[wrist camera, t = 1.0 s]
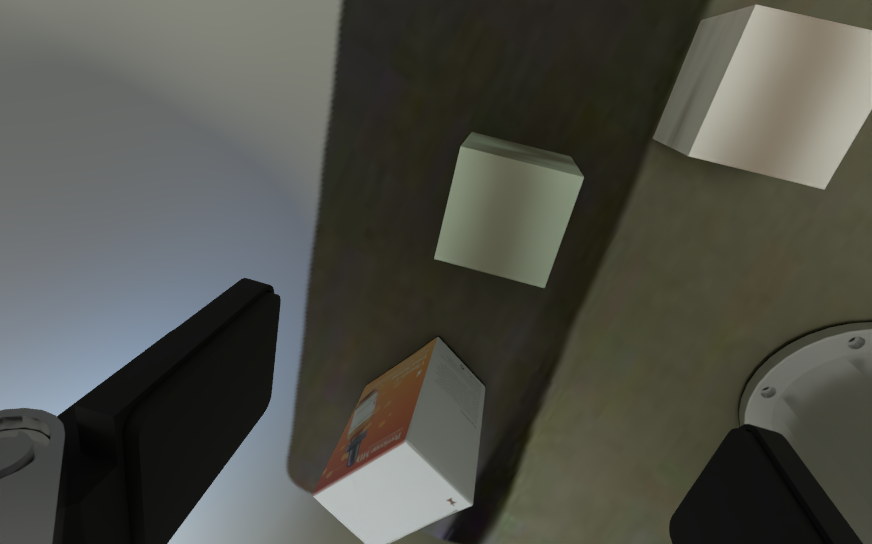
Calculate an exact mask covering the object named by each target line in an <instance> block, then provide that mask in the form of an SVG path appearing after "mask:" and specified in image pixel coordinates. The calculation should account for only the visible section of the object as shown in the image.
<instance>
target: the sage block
mask: <svg viewBox="0 0 872 544" xmlns="http://www.w3.org/2000/svg"><path fill="white" fill-rule="evenodd" d="M583 179H584V176H583V175H582V173H581V172H580V170H579V168H578V167H577V165H576V164H575V162H574V161H573V159H572V158H571V157H570V156H566V155H562V154H558V153H554V152H550V151H546V150H542V149H538V148H534V147H530V146H526V145H522V144H518V143H514V142H510V141H506V140H502V139H498V138H494V137H490V136H486V135H482V134H478V133H474V132H471V134H470V135H469V136H468V137H467V139H466V140H465V141H464V142H463V144H462V145H461V147H460V151H459V155H458V159H457V164H456V168H455V172H454V176H453V181H452V185H451V189H450V193H449V198H448V202H447V206H446V211H445V215H444V219H443V223H442V228H441V232H440V236H439V240H438V245H437V249H436V253H435V257H434V259H437V260H440V261H444V262H448V263H452V264H455V265H459V266H463V267H467V268H470V269H474V270H478V271H482V272H485V273H489V274H493V275H497V276H500V277H504V278H508V279H512V280H515V281H519V282H523V283H527V284H530V285H534V286H538V287H542V288H545V286H546V283H547V280H548V277H549V274H550V272H551V269H552V266H553V263H554V260H555V258H556V255H557V252H558V249H559V246H560V244H561V241H562V238H563V235H564V232H565V230H566V227H567V224H568V221H569V218H570V216H571V213H572V210H573V207H574V204H575V202H576V199H577V196H578V193H579V190H580V188H581V185H582V182H583Z"/></svg>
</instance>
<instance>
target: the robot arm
mask: <svg viewBox="0 0 872 544" xmlns="http://www.w3.org/2000/svg"><path fill="white" fill-rule="evenodd" d="M279 312H280V296H279V295H277V294H274V289H273V287H272V286H271V285H268V284H264V283H261V282H258V281H254V280H251V279H247V278H243V279H241V280H240V281H238V282H237V283H236V284H234V285H233V286H232V287H230V288H229V289H228V290H226V291H225V292H224V293H222V294H221V295H220V296H219V297H217V298H216V299H214V300H213V301H212V302H210V303H209V304H208V305H207V306H205V307H204V308H202V309H201V310H200V311H198V312H197V313H196V314H195V315H193V316H192V317H190V318H189V319H188V320H187V321H185V322H184V323H183V324H181V325H180V326H179V327H177V328H176V329H174V330H172V331H171V332H169V333H168V334H167V335H165V336H164V337H163V338H161V339H160V340H159V341H157V342H156V343H155V344H153V345H152V346H151V347H149V348H148V349H147V350H145V351H144V352H143V353H142V354H140V355H139V356H137V357H136V358H135V359H133V360H132V361H131V362H129V363H128V364H127V365H125V366H124V367H123V368H121V369H120V370H119V371H117V372H116V373H115V374H113V375H112V376H111V377H109V378H108V379H107V380H105V381H104V382H102V383H101V384H100V385H98V386H97V387H96V388H94V389H93V390H92V391H90V392H89V393H88V394H86V395H85V396H84V397H82V398H81V399H80V400H78V401H77V402H76V403H74V404H73V405H72V406H71V407H69V408H68V409H66V410H65V411H64V412H62V413H61V414H60V415H58V416H57V417H56V416H55V415H53V414H51V413H48V412H46V411H43V410H37V409H29V408H20V409H6V410H1V411H0V544H167V543H168V542H169V540H170V539H171V538H172V536H173V535H174V534H175V532H176V531H177V529H178V528H179V527H180V526H181V524H182V523H183V521H184V520H185V519H186V517H187V516H188V515H189V513H190V512H191V511H192V509H193V508H194V507H195V505H196V504H197V503H198V501H199V500H200V499H201V497H202V496H203V494H204V493H205V492H206V490H207V489H208V488H209V486H210V485H211V484H212V482H213V481H214V480H215V478H216V477H217V476H218V474H219V473H220V472H221V470H222V469H223V468H224V466H225V465H226V463H227V462H228V461H229V459H230V458H231V457H232V455H233V454H234V453H235V451H236V450H237V449H238V447H239V446H240V445H241V443H242V442H243V441H244V439H245V438H246V437H247V435H248V434H249V432H250V431H251V430H252V428H253V427H254V426H255V424H256V423H257V422H258V420H259V419H260V418H261V416H262V415H263V414H264V412H265V411H266V409H267V407H268V404H269V402H270V398H271V393H272V383H273V372H274V362H275V352H276V342H277V332H278V322H279ZM739 420H740V427H739V429H738V428H734V429H732V430H731V431H730V432H729V433H728V434H727V436H726V437H725V439H724V440H723V442H722V443H721V445H720V446H719V448H718V449H717V450H716V452H715V453H714V455H713V456H712V458H711V459H710V461H709V462H708V464H707V465H706V467H705V468H704V470H703V471H702V473H701V474H700V476H699V477H698V479H697V480H696V482H695V483H694V485H693V486H692V487H691V489H690V490H689V492H688V493H687V495H686V496H685V498H684V499H683V501H682V502H681V504H680V505H679V507H678V508H677V510H676V511H675V513H674V514H673V516H672V518H671V520H670V526H669V531H670V537H671V540H672V543H673V544H872V322H865V323H851V324H846V325H841V326H835V327H830V328H827V329H824V330H821V331H818V332H815V333H812V334H809V335H807V336H805V337H803V338H801V339H799V340H797V341H795V342H793V343H791V344H789V345H787V346H786V347H784V348H783V349H781V350H780V351H778V352H777V353H776V354H774V355H773V356H771V357H770V358H769V359H768V360H767V361H766V362H765V363H764V364H763V365H762V366H761V367H760V368H759V369H758V370H757V371H756V373H755V374H754V375H753V377H752V378H751V380H750V381H749V382H748V384H747V386H746V388H745V391H744V393H743V395H742V398H741V403H740V409H739Z"/></svg>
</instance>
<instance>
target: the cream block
mask: <svg viewBox="0 0 872 544" xmlns="http://www.w3.org/2000/svg"><path fill="white" fill-rule="evenodd" d="M871 110H872V30H868V29H863V28H859V27H854V26H850V25H845V24H841V23H836V22H832V21H827V20H823V19H818V18H814V17H809V16H805V15H801V14H796V13H792V12H787V11H783V10H778V9H774V8H769V7H765V6H760V5H752V6H749V7H745V8H742V9H738V10H735V11H731V12H728V13H724V14H721V15H717V16H714V17H710V18H707V19H703V20H701V21H700V24H699V26H698V28H697V31H696V33H695V36H694V38H693V41H692V43H691V46H690V48H689V51H688V53H687V55H686V58H685V60H684V63H683V65H682V68H681V70H680V73H679V75H678V78H677V80H676V82H675V85H674V87H673V90H672V92H671V95H670V97H669V100H668V102H667V105H666V107H665V109H664V112H663V114H662V117H661V119H660V122H659V124H658V127H657V129H656V132H655V134H654V136H653V139H654V140H656V141H658V142H660V143H662V144H664V145H666V146H668V147H670V148H672V149H674V150H677V151H679V152H681V153H683V154H685V155H687V156H690V157H694V158H698V159H702V160H706V161H710V162H714V163H718V164H722V165H726V166H730V167H734V168H739V169H743V170H747V171H751V172H755V173H759V174H763V175H767V176H771V177H775V178H779V179H783V180H787V181H792V182H796V183H800V184H804V185H808V186H812V187H816V188H820V189H825V188H826V186H827V184H828V183H829V181H830V179H831V177H832V176H833V174H834V172H835V171H836V169H837V167H838V166H839V164H840V162H841V161H842V159H843V157H844V155H845V154H846V152H847V150H848V149H849V147H850V145H851V144H852V142H853V140H854V139H855V137H856V135H857V133H858V132H859V130H860V128H861V127H862V125H863V123H864V122H865V120H866V118H867V117H868V115H869V113H870V111H871Z"/></svg>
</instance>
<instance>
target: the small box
mask: <svg viewBox="0 0 872 544" xmlns="http://www.w3.org/2000/svg"><path fill="white" fill-rule="evenodd" d="M484 397H485V386H484V385H483V384H482V383H481V382H480V381H479V380H478V379H477V378H476V376H475V375H474V374H473V373H472V372H471V371H470V370H469V369H468V368H467V367H466V366H465V365H464V364H463V363H462V362H461V360H460V359H459V358H458V357H457V356H456V355H455V354H454V353H453V352H452V351H451V350H450V349H449V348H448V346H447V345H446V344H445V343H444V342H443V341H442V340H441V339H440V338H439V337H436V338H435V339H433V340H432V341H431V342H429V343H428V344H427V345H425V346H424V347H423V348H421V349H420V350H418V351H417V352H416V353H414V354H413V355H411V356H410V357H408V358H407V359H405V360H404V361H402V362H401V363H399V364H398V365H396V366H395V367H393V368H392V369H390V370H389V371H387V372H386V373H384V374H383V375H381V376H380V377H378V378H377V379H375V380H374V381H372V382H371V383H369V384H368V385H367V386H366V387H365V389H364V391H363V393H362V395H361V397H360V399H359V401H358V403H357V405H356V407H355V409H354V411H353V413H352V415H351V417H350V419H349V422H348V424H347V426H346V428H345V430H344V432H343V434H342V436H341V438H340V440H339V442H338V444H337V446H336V448H335V450H334V452H333V454H332V456H331V458H330V460H329V462H328V464H327V466H326V468H325V470H324V472H323V474H322V476H321V478H320V480H319V482H318V485H317V487H316V488H315V490H314V493H313V497H314V498H315V499H317V501H319V502H320V503H321V504H322V505H323V506H324V507H325V508H326V509H327V510H328V511H329V512H330V513H332V514H333V515H334V516H335V517H336V518H337V519H338V520H339V521H340V522H342V523H343V524H344V525H345V526H346V527H347V528H348V529H349V530H350V531H352V532H353V533H354V534H355V535H356V536H357V537H358V538H359V539H360V540H362V541H363V542H364V543H365V544H390V543H392V542H394V541H395V540H398V539H400V538H401V537H404V536H406V535H408V534H410V533H412V532H414V531H416V530H418V529H420V528H422V527H424V526H426V525H429V524H431V523H433V522H435V521H437V520H440V519H442V518H444V517H446V516H448V515H450V514H453V513H455V512H457V511H461V510H463V509H465V508H468V507H471V506H472V505H473V497H474V489H475V480H476V470H477V461H478V452H479V443H480V433H481V425H482V415H483V406H484Z"/></svg>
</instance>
